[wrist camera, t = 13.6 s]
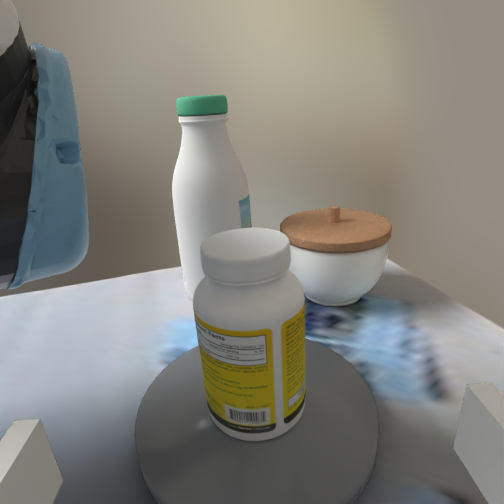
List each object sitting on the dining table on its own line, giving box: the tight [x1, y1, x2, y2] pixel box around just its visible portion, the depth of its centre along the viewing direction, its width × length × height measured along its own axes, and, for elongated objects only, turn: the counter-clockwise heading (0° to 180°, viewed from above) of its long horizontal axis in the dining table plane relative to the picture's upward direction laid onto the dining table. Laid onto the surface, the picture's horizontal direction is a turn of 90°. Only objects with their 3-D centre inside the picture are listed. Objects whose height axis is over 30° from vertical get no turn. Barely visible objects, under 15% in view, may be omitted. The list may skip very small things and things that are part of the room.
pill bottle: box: [193, 228, 306, 441], centre depth 21 cm, size 6×6×11 cm
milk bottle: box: [172, 95, 252, 301], centre depth 37 cm, size 8×8×20 cm
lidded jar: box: [280, 206, 392, 306], centre depth 37 cm, size 11×11×9 cm
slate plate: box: [135, 338, 379, 504], centre depth 24 cm, size 15×15×2 cm
